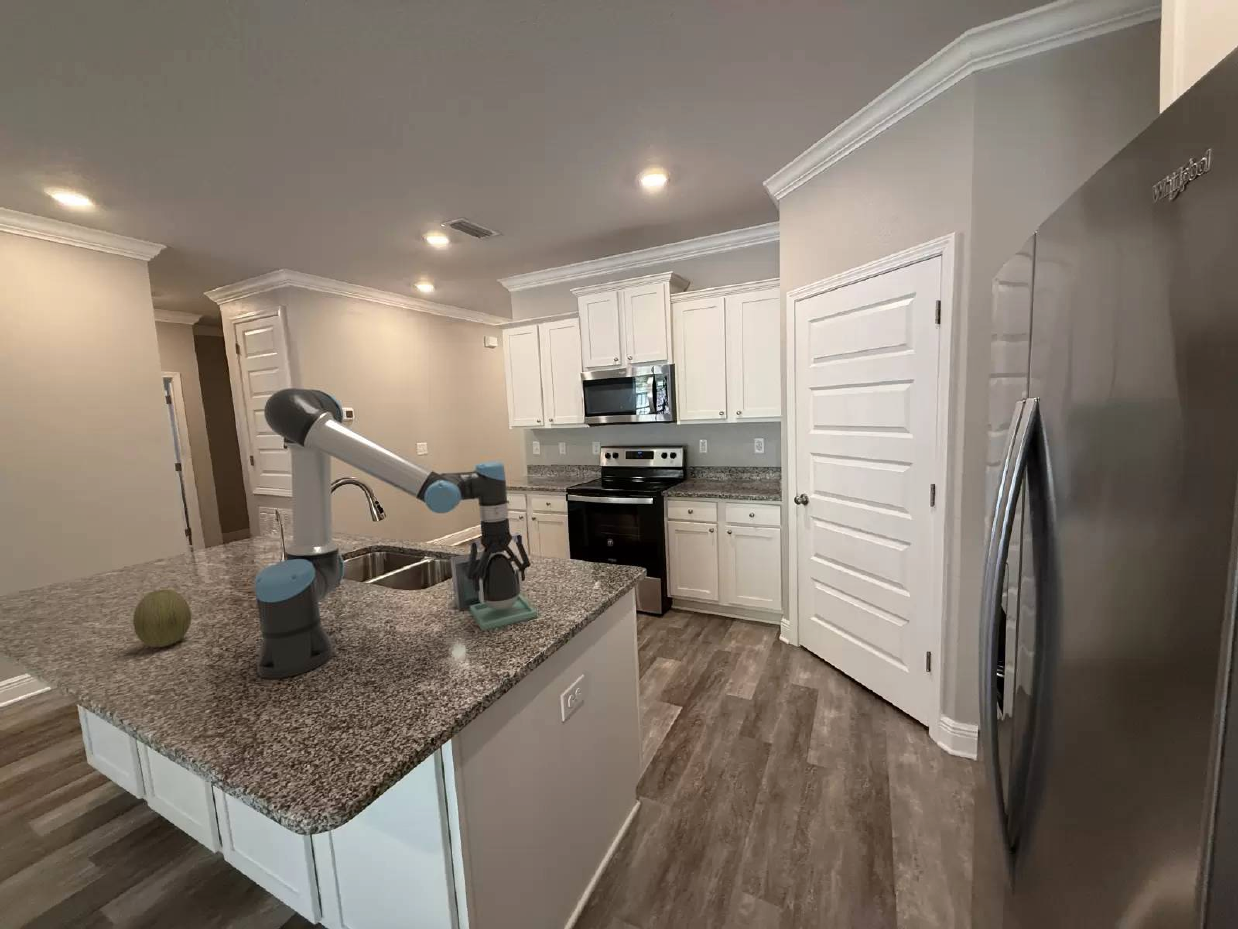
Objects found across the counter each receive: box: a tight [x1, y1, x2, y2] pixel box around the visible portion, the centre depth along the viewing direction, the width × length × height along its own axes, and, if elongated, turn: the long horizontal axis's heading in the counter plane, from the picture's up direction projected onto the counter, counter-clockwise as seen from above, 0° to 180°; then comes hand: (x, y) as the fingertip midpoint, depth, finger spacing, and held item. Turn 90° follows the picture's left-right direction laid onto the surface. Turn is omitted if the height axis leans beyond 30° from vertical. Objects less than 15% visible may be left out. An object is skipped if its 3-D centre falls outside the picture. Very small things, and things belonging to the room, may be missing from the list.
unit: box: [449, 550, 503, 612], centre depth 149 cm, size 14×9×14 cm, turn 118°
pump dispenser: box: [482, 552, 520, 610], centre depth 138 cm, size 10×10×15 cm
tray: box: [469, 594, 538, 633], centre depth 139 cm, size 15×15×2 cm
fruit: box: [132, 589, 192, 648], centre depth 131 cm, size 11×11×15 cm
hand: (501, 597), depth 138 cm, fingers closed on pump dispenser, 10 cm apart
